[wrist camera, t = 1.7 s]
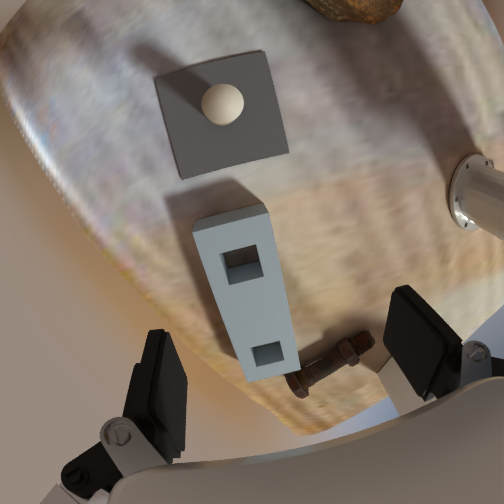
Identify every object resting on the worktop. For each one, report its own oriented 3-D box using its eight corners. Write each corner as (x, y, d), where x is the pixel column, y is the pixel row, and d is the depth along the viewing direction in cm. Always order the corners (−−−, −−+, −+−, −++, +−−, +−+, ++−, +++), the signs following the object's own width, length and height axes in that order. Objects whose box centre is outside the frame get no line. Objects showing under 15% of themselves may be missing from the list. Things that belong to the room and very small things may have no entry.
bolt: (363, 325, 44) (289, 371, 46) (361, 318, 40) (280, 369, 42) (381, 352, 41) (304, 399, 43) (381, 349, 37) (296, 400, 39)
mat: (264, 52, 25) (264, 51, 24) (288, 152, 30) (289, 152, 30) (155, 79, 25) (154, 78, 24) (182, 179, 30) (182, 179, 30)
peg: (232, 96, 26) (238, 79, 17) (239, 122, 28) (248, 117, 19) (204, 103, 26) (197, 89, 17) (211, 129, 28) (207, 127, 19)
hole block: (195, 220, 32) (192, 232, 28) (263, 202, 32) (268, 212, 28) (245, 363, 42) (247, 382, 39) (295, 351, 42) (300, 369, 39)
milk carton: (398, 375, 50) (437, 442, 32) (376, 373, 48) (416, 448, 31) (418, 350, 47) (464, 418, 30) (397, 347, 46) (446, 422, 28)
